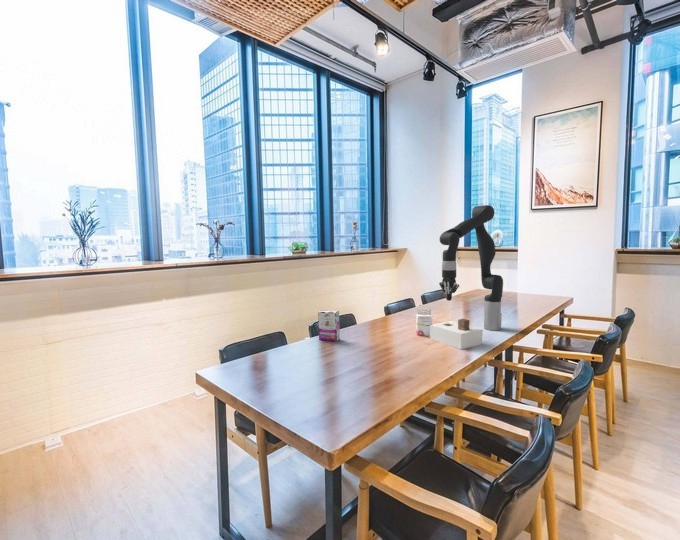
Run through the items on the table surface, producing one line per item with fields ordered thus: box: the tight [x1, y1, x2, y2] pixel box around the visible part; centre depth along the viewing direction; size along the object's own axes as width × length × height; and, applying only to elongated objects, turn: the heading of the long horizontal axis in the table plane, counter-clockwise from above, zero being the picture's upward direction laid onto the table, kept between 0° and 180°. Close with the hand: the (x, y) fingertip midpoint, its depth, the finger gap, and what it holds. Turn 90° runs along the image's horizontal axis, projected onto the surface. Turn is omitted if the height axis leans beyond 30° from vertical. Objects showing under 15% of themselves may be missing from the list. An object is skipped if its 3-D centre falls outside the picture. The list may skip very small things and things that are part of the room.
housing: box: [429, 320, 484, 350], centre depth 192 cm, size 16×22×8 cm
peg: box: [457, 318, 470, 331], centre depth 187 cm, size 4×4×7 cm
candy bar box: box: [317, 309, 341, 342], centre depth 200 cm, size 11×5×16 cm, turn 68°
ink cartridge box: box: [415, 308, 433, 337], centre depth 206 cm, size 9×5×15 cm, turn 84°
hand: (448, 300), depth 194 cm, fingers closed
